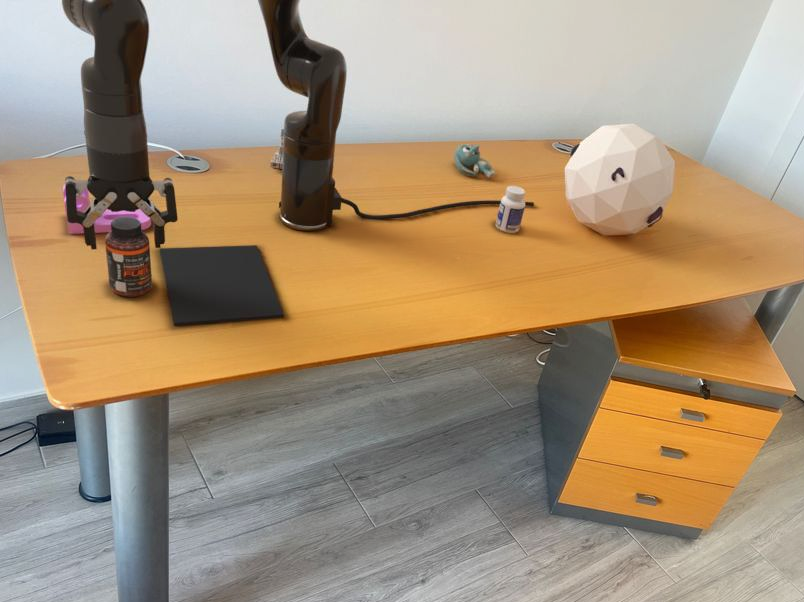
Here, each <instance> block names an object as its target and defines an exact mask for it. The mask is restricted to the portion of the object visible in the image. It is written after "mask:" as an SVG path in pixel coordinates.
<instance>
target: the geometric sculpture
mask: <svg viewBox="0 0 804 602" xmlns="http://www.w3.org/2000/svg"><path fill="white" fill-rule="evenodd" d="M675 167H676V161H675V160H674V158H673V156H672V154H671V153H670V151H669V150H668V148H667V147H666V145H665V143H664V142H663V140H662V139H661V138H660V137H658V136H657V135H655V134H653V133H651V132H650V131H647V130H646V129H644V128H642V127H641V126H639V125H637V124H636V123H622V124H621V123H620V124H607V125H602V126H600V127H599V128H597V129H596V130H595V131H593V132H592V133H591V134H590V135H588V136H587V137H586V138H584V139H583V140H582V141H580V142H579V143H578V144H576V145H574V146H573V147H572V148H571V150H570V159H569V160H568V161H567V163H566V165H565V167H564V185H565V186H564V187H565V199H566V201H567V203H568V205H569V207H570V208H571V210H572V213H573V214H574V216H575V218H576V220H577V222H579V223H581V224H582V225H584V226H586V227H587V228H590V229H591V230H593V231H595V232H597V233H598V234H600V235H602V236H604V237H605V236H606V237H607V236H622V235H623V236H625V235H635V234H636V233H637V234H638V232H640V231H642V230H643V229H645V228H651V227H653V226H654V224H656V223H657V222H659V221H660V220H661V219H662V217H663V213H664V210H665V208H666V207H667V205H668V203H669V201H670V199H671V197H672V196H673V193H674V180H675Z"/></svg>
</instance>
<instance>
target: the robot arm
mask: <svg viewBox="0 0 804 602" xmlns="http://www.w3.org/2000/svg"><path fill="white" fill-rule="evenodd" d="M300 2H301V0H257V3H258V6H259V10H260V12H261V16H262V19H263V22H264V25H265V30H266V34H267V39H268V44H269V48H270V53H271V57H272V61H273V65H274V66H273V67H274V70H275V72H276V75H277V77H278V79H279V81H280V83H281V84H282V86H284V87H285V88H286V89H287V90H289V91H291V92H293V93H295V94H298V95H300V96H303V97H305V98H307V99H308V100H307V101H308V102H307V107H306V110H297V111H293V112H290V113H288V114H287V115H286V116H285V117H284V120H283V121H284V122H283V129H284V141H283V164H282V169H281V186H280V187H281V189H280V201H279V202H278V209H279V220H280V222H281V223H282V224H283V225H285V226H286V227H287V228H290V229H293V230H297V231H303V232H316V231H320V230H321V231H322V230H323V229H325V228H331V227H332V225H333V223H332V222H333V213H334V211H342V210H341V209H342V204H345V205H347V206H350V207H351V208H353V211H354V213H355V214H356V216H358V217H360V218H362V219H369V220H379V221H380V220H381V221H382V220H391V219H392V220H393V219H404V218H405V219H406V218H410V217H414V216H419V215H423V214H428V213H432V212H436V211H437V212H438V211H443V210H447V209H453V208H460V207H469V206H479V205H480V206H481V205H482V206H483V205H500V203H501V200H490V199H489V200H488V199H487V200H471V201H460V202H453V203H447V204H442V205H437V206H432V207H428V208H421V209H417V210H413V211H410V212H404V213H392V214H391V213H390V214H380V215H379V214H378V215H375V214H374V215H372V214H366V213H363V212H361V211H360V209H359V206H358V205H357V203H354V202H353V201H351V200H349V199H346V198H343V197H342V195H341V194H340V192H339V191H338V189H337V187H336V180H335V179H334V177H333V173H334V163H335V151H336V149H335V148H336V140H337V139H336V138H337V131H338V128H339V125H340V122H341V118H342V115H343V114H342V113H343V105H344V98H345V91H346V85H347V72H348V69H347V68H348V67H347V60H346V58H345V56H344V53H342V51H341V50H340V49H338V48H335V47H333V46H330V45H328V44H325V43H322V42H320V41H317V40H315V39H311V38H310V37H309V36H308V35H307V33H306V31H305V28H304V26H303V23H302V19H301V15H300V8H299V7H300ZM61 6H62V10H63V13H64V15H65V16H66V19H67V20H68V21H69V22H70V23H71V24H72V25H73V26H74V27H75V28H77V29H79V30H80V31H81V32H84V33H86V34H88V35H90V36H91V37H93V40H94V52H93V56H92V57H88V58H86V59H85V60H83V62H82V64H81V66H80V83H81V92H82V101H83V129H84V131H83V133H84V138H85V145H86V146H85V147H86V154H87V162H88V172H89V173H88V174H89V177H88V179H87V180H83V179H76V178H75V177H73V176H71V175H68V176H67V177H65V179H64V185H65V190H66V205H67V218H66V221H67V220H68V222H70V223H78V224H81V225H82V226H83V230H84V233H83V236H84V237H83V239H84V243H85V245H86V246H87V247H90V249H91V250H97V249H98V245H97V237H96V233H95V228H94V222H95V221H96V220H97V219H98V218H99V217H101V216H102V214H103V213H104V212H105V211H106V210H111V212H119V211H129V212H136V211H135V210H141V211H142V212H143V213H144V214H145V215H146V216H147V217H149V218H150V219H151V222H152V227H153V241H154V246H155V247H154V248H155V249H160V248H161V245H164V244H165V242H166V233H165V232H166V231H165V226H166V224H168V223H177V222H178V220H179V218H178V211H177V201H176V192H175V186H174V183H173V180H172V178H170V177H165V178H163V180H154V181H153V180H152V179H151V176H150V161H149V147H148V131H147V123H146V117H145V113H144V103H143V102H144V101H143V87H142V74H143V70H144V67H145V62H146V57H147V53H148V52H147V51H148V46H149V41H150V40H149V39H150V21H149V15H148V12H147V10H146V6H145V4H144V2H143V0H61ZM87 189H88V193H89V194H91V196H93V199H92V200H91V201H90V205H89V207H88V208H87V209H86V210H85V211H84V212H80V211H77V203H76V197H79V196H81V195H82V193H83V191H84V190H87ZM154 191H157V192H158V193H159V196H160V197H162V198H165V206H166V210H164V211H161V210H160V209H159V208H158V207H157V206H156V205H155V204H154V202H153V201H152V199H150V197H151V195H152V194H153V193H154ZM534 206H535V202H533V201H525V207H534Z"/></svg>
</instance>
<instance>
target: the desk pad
mask: <svg viewBox="0 0 804 602" xmlns="http://www.w3.org/2000/svg"><path fill="white" fill-rule="evenodd" d="M159 255H160V260H161V265H162V270H163V275H164V280H165V286H166V291H167V296H168V301H169V305H170V310H171V316H172V321H173V326H174V327H179V326H181V327H182V326H190V325H191V326H192V325H205V324H218V323H219V324H220V323H229V322H230V323H231V322H243V321H257V320H269V319H270V320H271V319H281V318H285V313H284V311H283V308H282V306H281V303H280V301H279V298H278V296H277V293H276V291H275V288H274V285H273V283H272V281H271V278H270V276H269V273H268V270H267V268H266V266H265V263H264V260H263V257H262V255H261V253H260V249H259V248H258V245H226V246H225V245H222V246H199V247H198V246H193V247H192V246H191V247H166V248H165V247H163V248H159Z"/></svg>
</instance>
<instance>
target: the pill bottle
mask: <svg viewBox="0 0 804 602" xmlns="http://www.w3.org/2000/svg"><path fill="white" fill-rule="evenodd" d="M525 196H526V190H525V189H524V188H522V187H520V186H516V185H508V186H507V187H506V190H505V195H503V196H502V198H501V200H500V201H501V203H500V204H499V207H498V212H497V216H496V220H495V227H496V229H498V230H500V231H502V232H504V233H509V234H514V233H517V232H519V231H520V228H521V224H522V221H523V220H522V219H523V216H524V213H525V208H526V206H525V202H526V201H525V200H524V199H525Z"/></svg>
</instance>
